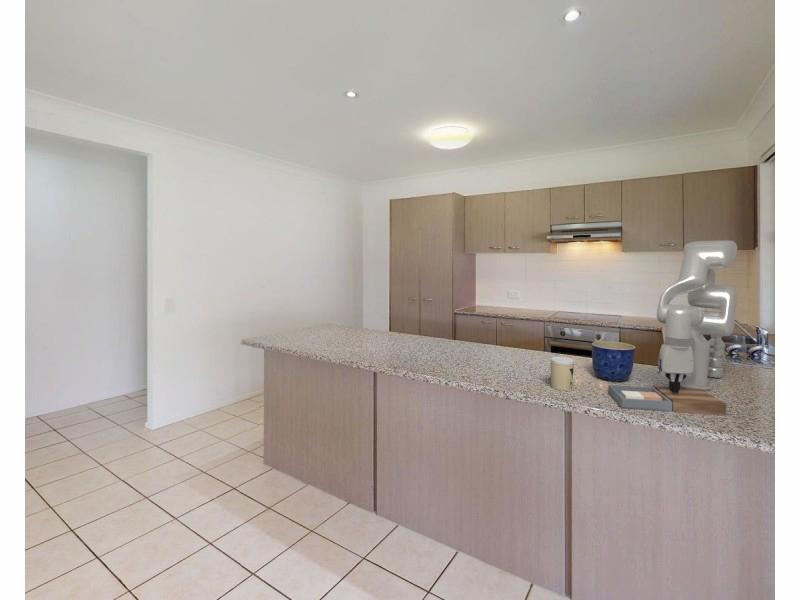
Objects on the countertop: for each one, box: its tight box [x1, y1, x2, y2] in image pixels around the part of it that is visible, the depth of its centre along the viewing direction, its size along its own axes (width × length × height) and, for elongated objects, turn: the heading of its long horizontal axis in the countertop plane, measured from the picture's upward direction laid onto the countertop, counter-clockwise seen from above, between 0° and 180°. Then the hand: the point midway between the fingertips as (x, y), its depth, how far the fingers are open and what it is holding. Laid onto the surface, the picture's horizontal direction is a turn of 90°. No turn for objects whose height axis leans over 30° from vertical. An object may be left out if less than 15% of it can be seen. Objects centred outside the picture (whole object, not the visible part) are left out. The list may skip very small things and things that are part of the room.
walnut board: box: [653, 385, 727, 416], centre depth 145 cm, size 16×16×4 cm
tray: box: [607, 384, 672, 412], centre depth 149 cm, size 16×16×4 cm
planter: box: [591, 340, 636, 382], centre depth 177 cm, size 17×17×15 cm
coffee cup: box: [549, 356, 575, 391], centre depth 166 cm, size 9×9×12 cm
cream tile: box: [621, 391, 644, 399], centre depth 149 cm, size 6×6×2 cm
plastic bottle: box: [707, 335, 726, 379], centre depth 178 cm, size 6×7×20 cm
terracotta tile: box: [638, 391, 662, 401], centre depth 148 cm, size 6×6×2 cm
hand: (674, 391), depth 146 cm, fingers closed
